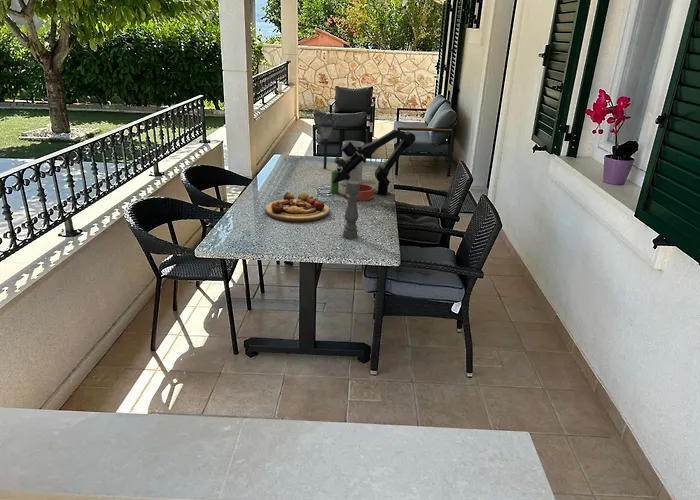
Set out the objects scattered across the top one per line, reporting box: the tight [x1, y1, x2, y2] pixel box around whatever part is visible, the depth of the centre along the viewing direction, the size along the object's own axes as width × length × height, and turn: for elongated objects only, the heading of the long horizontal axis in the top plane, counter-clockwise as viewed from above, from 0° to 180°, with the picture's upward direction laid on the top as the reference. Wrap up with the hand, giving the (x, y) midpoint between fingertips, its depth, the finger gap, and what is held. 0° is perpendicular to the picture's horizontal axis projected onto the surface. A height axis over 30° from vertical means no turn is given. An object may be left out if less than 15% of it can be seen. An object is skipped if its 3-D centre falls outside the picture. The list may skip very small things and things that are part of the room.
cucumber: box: [330, 169, 340, 195], centre depth 285 cm, size 4×4×13 cm
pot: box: [344, 183, 375, 202], centre depth 282 cm, size 16×16×6 cm
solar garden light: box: [316, 121, 336, 170], centre depth 332 cm, size 12×12×30 cm
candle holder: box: [342, 181, 360, 240], centre depth 222 cm, size 6×6×25 cm
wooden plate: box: [264, 190, 330, 222], centre depth 252 cm, size 32×32×8 cm
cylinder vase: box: [340, 140, 365, 187], centre depth 302 cm, size 12×12×25 cm
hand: (332, 181), depth 285 cm, fingers open, 5 cm apart
